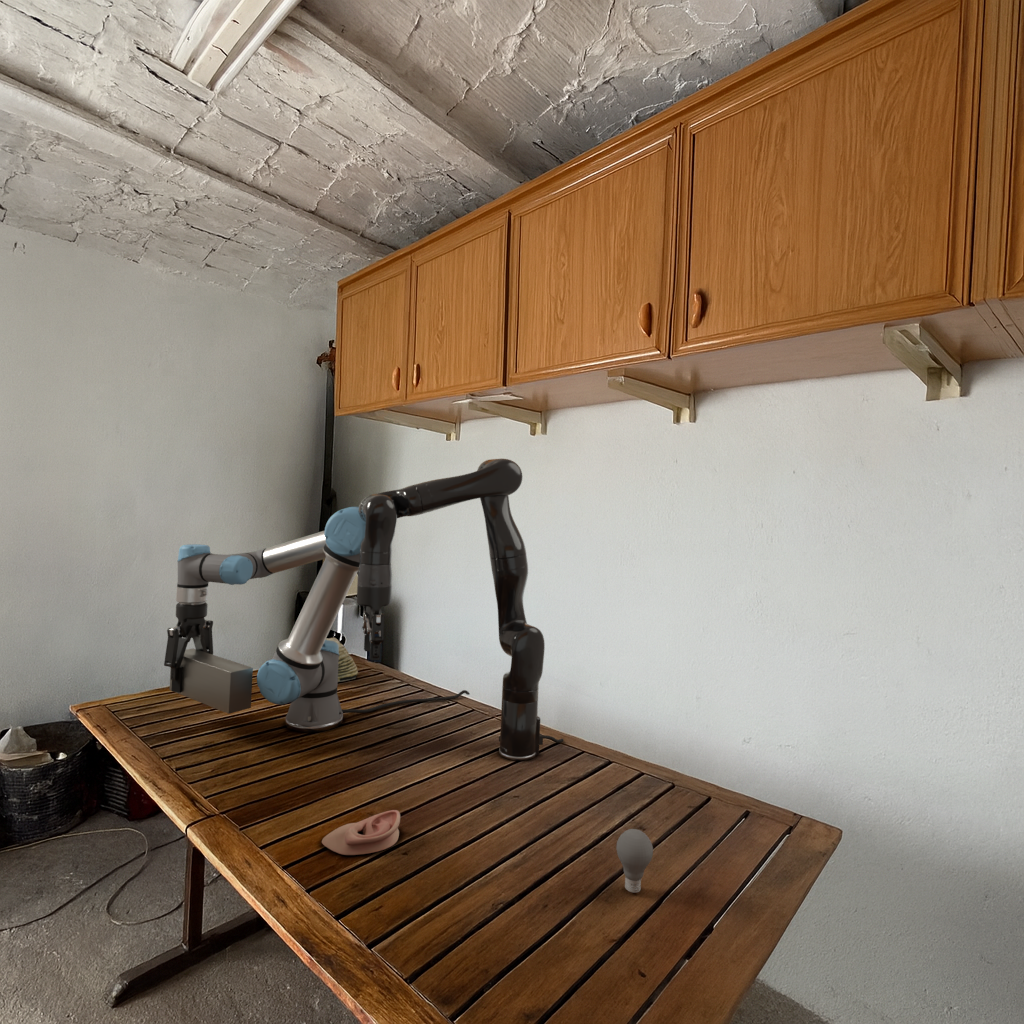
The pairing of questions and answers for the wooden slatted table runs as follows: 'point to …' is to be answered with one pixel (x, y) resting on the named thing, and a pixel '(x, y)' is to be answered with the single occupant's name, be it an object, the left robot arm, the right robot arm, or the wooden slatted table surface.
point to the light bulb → (634, 857)
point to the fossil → (345, 663)
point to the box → (216, 681)
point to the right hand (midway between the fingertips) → (371, 655)
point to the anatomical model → (365, 835)
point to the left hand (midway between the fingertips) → (188, 687)
